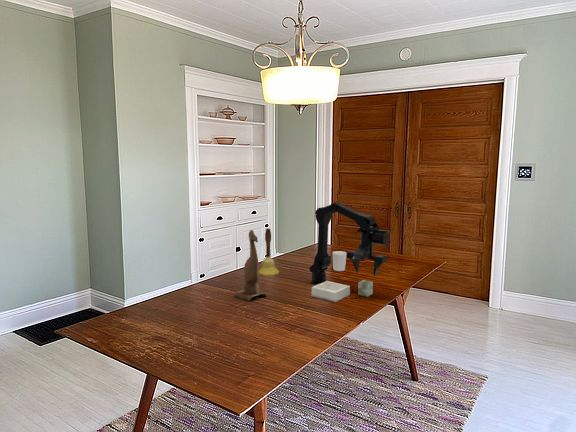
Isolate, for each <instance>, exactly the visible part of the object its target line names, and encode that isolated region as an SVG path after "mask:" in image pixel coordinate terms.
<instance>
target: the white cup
mask: <svg viewBox="0 0 576 432" xmlns="http://www.w3.org/2000/svg"><path fill="white" fill-rule="evenodd" d="M346 255H347V252H346V251H341V250H338V251H332V266H333V271H335V272H344V271H345V270H346V264H347V262H346V261H347V257H346Z"/></svg>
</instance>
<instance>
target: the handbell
mask: <svg viewBox="0 0 576 432" xmlns="http://www.w3.org/2000/svg"><path fill="white" fill-rule="evenodd" d="M264 240H265V247H266V249H265V252H266V253H265V255H266V257H265V258H264V259H262V263H261V264H262V266H261V268H260V269H259V273H260V274H263V275H262V276H276V275H278V274H279V273H280V271H279V270H278V269H277V268H276V266H275V260H274V259H273V258H271V243H272V242H271V241H272V232H271V228H266V229H265V234H264ZM260 274H259V275H260ZM275 274H276V275H275Z"/></svg>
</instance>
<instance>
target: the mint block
mask: <svg viewBox="0 0 576 432" xmlns="http://www.w3.org/2000/svg"><path fill="white" fill-rule="evenodd" d="M357 284H358V285H357V287H358V288H357V289H358V290H357V293H358V295H360V296H363V297H367V298H368V297H370V296H371V295H373V293H374V291H373V290H374V281H369V280H365V279H362V280H361V281H359V282H358V283H357Z"/></svg>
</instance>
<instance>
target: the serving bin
mask: <svg viewBox="0 0 576 432" xmlns="http://www.w3.org/2000/svg"><path fill="white" fill-rule="evenodd" d="M349 296H351V286H350V285H347V284H342V283H338V282H334V281H329V280H326V282H323V283H321V284H315V285H314V286H311V297H312V298H317V299H319V300H320V299H321V300H323V301H326V302H327V301H329V302H331V303H337V302H339V301H341V300H342V299H345V298H347V297H349Z"/></svg>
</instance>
